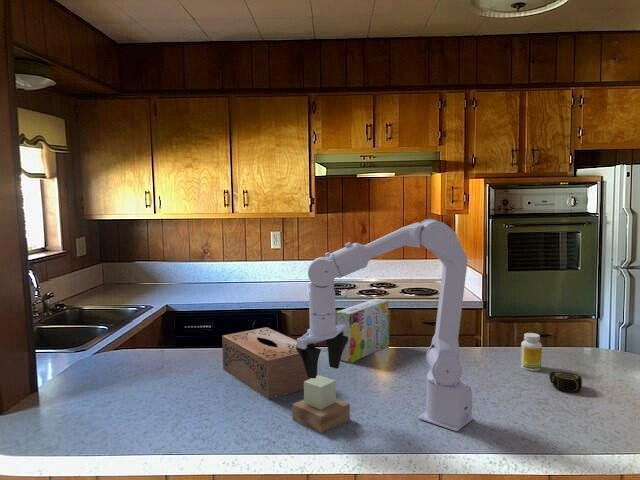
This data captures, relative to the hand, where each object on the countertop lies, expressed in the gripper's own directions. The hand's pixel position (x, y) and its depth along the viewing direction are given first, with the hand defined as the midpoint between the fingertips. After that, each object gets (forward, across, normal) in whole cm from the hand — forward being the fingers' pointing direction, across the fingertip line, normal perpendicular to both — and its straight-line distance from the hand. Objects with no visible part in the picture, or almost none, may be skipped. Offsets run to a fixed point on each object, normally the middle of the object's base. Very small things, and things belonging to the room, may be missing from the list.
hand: (323, 372), depth 113 cm
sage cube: (+7, +1, 0) cm, 7 cm away
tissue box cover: (+11, -8, -27) cm, 31 cm away
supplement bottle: (+11, -60, +25) cm, 66 cm away
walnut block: (+11, +1, 0) cm, 11 cm away
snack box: (+11, -41, -19) cm, 47 cm away
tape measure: (+11, -52, +36) cm, 64 cm away
